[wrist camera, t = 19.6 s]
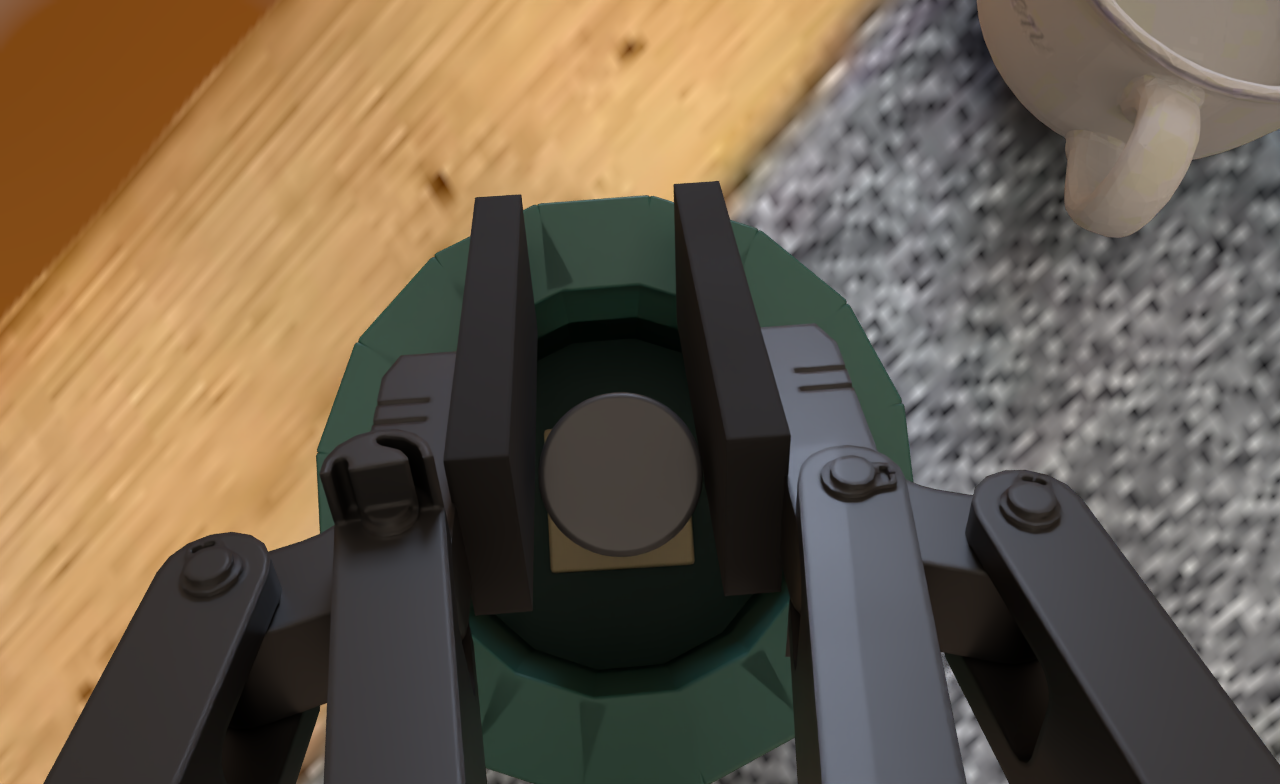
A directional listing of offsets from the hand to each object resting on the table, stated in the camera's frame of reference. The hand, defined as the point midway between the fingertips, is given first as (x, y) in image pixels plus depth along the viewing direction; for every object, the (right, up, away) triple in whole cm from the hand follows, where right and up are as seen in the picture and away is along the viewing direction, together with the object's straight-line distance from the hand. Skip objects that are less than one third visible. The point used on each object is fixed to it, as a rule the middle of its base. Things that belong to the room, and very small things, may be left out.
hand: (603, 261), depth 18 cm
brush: (0, -5, +12) cm, 13 cm away
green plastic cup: (0, -5, +13) cm, 14 cm away
